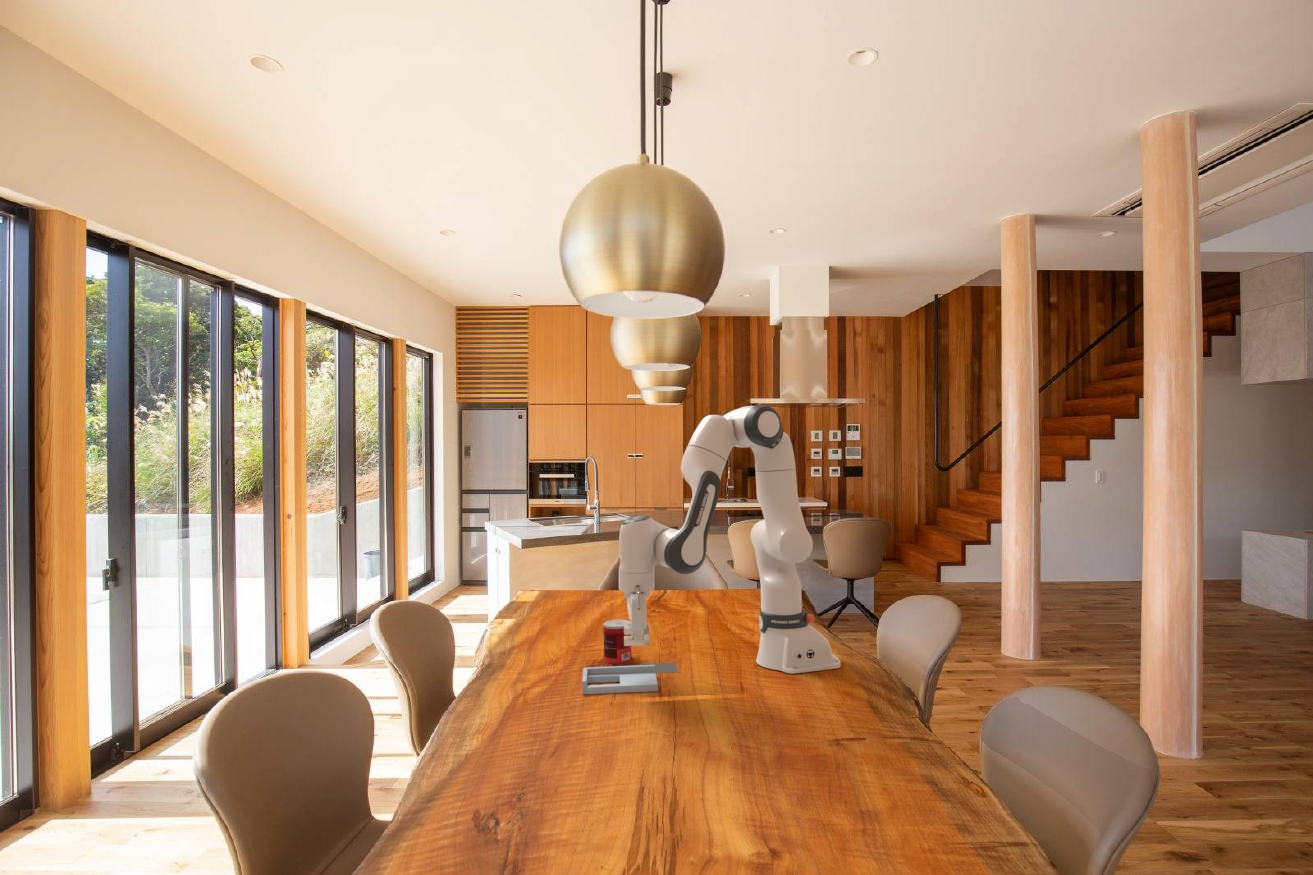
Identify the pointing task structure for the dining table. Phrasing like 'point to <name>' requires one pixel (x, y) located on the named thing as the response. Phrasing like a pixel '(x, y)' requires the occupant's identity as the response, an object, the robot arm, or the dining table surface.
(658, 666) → the pad
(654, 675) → the grey slotted tray
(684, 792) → the dining table surface
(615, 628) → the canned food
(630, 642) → the white boxy piece
